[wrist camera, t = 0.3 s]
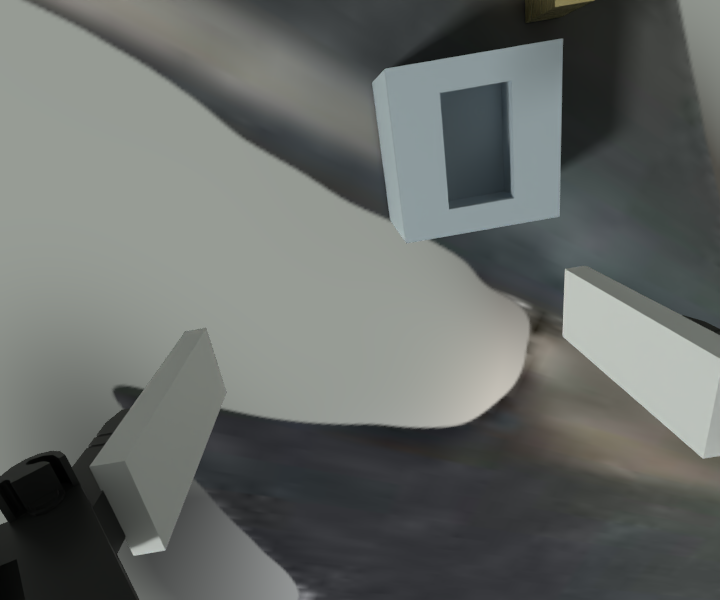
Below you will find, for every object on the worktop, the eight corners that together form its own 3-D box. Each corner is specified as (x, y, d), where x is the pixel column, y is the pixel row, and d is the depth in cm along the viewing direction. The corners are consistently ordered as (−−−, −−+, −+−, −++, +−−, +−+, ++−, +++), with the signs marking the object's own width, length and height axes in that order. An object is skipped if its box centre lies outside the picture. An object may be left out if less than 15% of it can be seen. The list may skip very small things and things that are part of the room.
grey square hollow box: (371, 82, 37) (385, 68, 28) (509, 59, 37) (563, 38, 28) (390, 220, 41) (406, 243, 33) (512, 199, 41) (559, 216, 33)
